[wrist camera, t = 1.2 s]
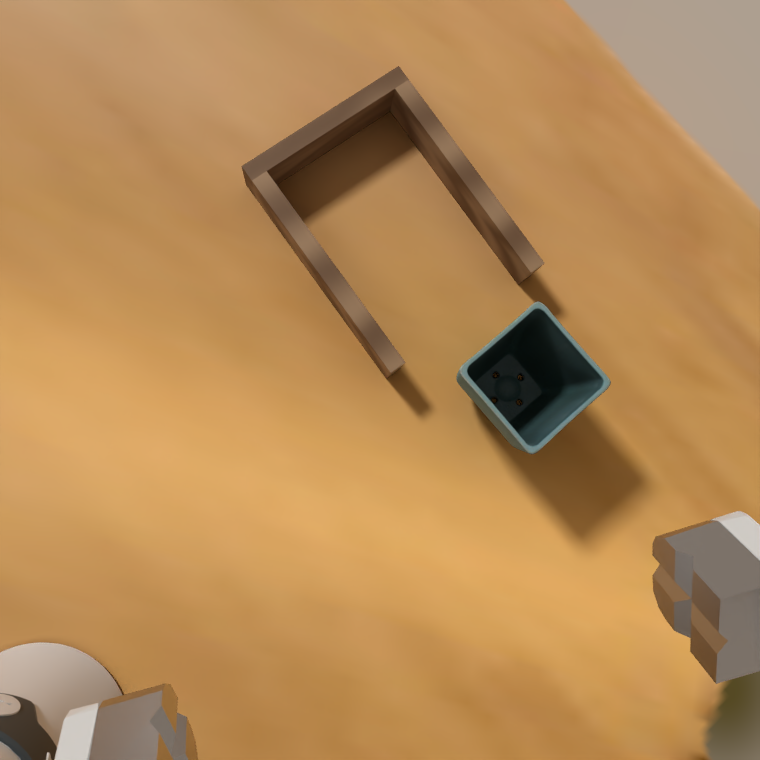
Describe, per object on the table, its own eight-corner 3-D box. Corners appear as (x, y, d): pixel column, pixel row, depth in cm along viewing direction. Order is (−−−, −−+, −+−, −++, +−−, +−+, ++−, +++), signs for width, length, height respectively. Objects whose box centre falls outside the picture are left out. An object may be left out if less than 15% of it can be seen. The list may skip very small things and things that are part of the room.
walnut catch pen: (530, 275, 65) (544, 263, 61) (386, 378, 62) (390, 372, 58) (393, 90, 66) (398, 66, 62) (246, 184, 63) (241, 166, 59)
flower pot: (437, 383, 63) (456, 369, 54) (508, 320, 64) (539, 297, 55) (501, 458, 62) (532, 457, 54) (572, 394, 64) (614, 383, 55)
